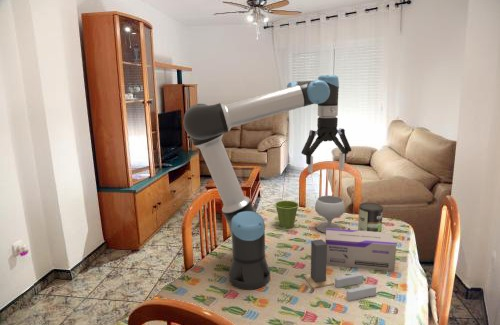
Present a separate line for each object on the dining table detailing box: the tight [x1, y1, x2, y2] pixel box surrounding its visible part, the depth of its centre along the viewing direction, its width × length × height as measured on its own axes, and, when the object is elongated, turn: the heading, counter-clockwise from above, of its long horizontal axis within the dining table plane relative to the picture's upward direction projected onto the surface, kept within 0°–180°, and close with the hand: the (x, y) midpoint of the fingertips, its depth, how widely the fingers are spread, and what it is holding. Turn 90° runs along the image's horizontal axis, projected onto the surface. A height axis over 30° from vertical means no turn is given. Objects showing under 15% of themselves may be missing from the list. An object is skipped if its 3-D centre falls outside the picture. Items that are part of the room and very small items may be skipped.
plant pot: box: [274, 200, 300, 229], centre depth 165 cm, size 12×12×11 cm
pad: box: [302, 273, 335, 289], centre depth 119 cm, size 8×8×1 cm
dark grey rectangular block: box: [310, 238, 328, 283], centre depth 117 cm, size 4×4×14 cm
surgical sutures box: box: [325, 228, 397, 272], centre depth 130 cm, size 25×11×11 cm, turn 76°
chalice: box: [314, 195, 346, 234], centre depth 160 cm, size 14×14×15 cm
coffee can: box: [357, 202, 384, 232], centre depth 152 cm, size 10×10×14 cm
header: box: [334, 272, 377, 302], centre depth 112 cm, size 10×9×3 cm
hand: (326, 170), depth 132 cm, fingers open, 13 cm apart
